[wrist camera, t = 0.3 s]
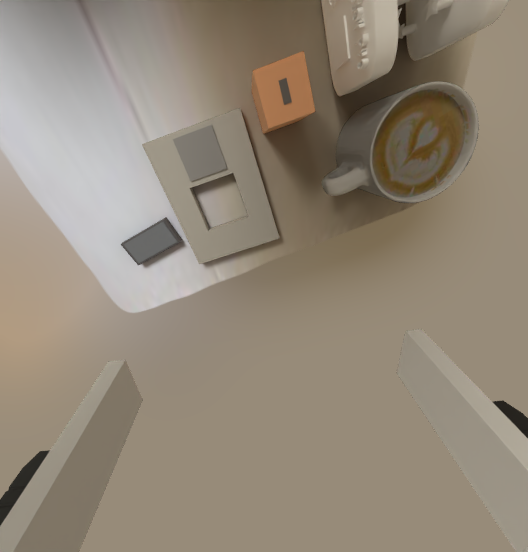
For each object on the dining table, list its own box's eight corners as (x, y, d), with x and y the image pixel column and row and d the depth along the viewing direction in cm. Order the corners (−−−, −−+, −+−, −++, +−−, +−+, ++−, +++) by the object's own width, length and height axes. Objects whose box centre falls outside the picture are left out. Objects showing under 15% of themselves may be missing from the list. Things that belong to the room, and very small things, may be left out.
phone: (123, 241, 36) (120, 244, 35) (166, 217, 34) (163, 219, 33) (140, 262, 37) (138, 265, 36) (182, 239, 36) (180, 242, 35)
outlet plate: (145, 144, 30) (141, 144, 29) (240, 109, 29) (239, 107, 28) (200, 261, 37) (199, 264, 36) (278, 235, 36) (279, 238, 35)
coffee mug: (411, 88, 30) (483, 61, 21) (415, 175, 34) (476, 184, 25) (300, 128, 31) (322, 119, 22) (318, 208, 35) (342, 227, 26)
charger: (251, 91, 29) (252, 70, 21) (288, 77, 28) (303, 50, 21) (263, 133, 31) (268, 128, 23) (298, 121, 30) (315, 111, 23)
